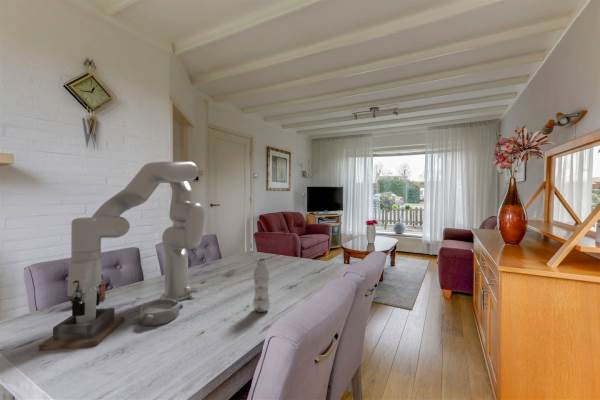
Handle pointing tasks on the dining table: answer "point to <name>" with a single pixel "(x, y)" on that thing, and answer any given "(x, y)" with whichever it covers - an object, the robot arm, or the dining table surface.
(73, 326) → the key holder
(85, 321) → the skincare box
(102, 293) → the supplement bottle
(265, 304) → the plastic bottle
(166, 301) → the dish
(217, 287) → the dining table surface
